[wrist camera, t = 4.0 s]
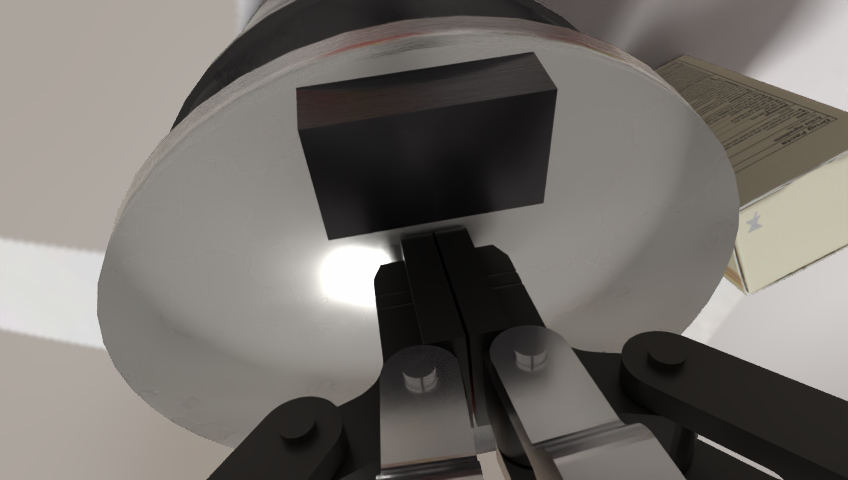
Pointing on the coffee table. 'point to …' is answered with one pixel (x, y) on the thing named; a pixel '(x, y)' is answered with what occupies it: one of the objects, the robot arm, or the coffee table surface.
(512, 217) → the cooker lid
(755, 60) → the coffee table surface
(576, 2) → the coffee table surface
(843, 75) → the coffee table surface
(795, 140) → the skincare box
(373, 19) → the cooker pot
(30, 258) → the coffee table surface
